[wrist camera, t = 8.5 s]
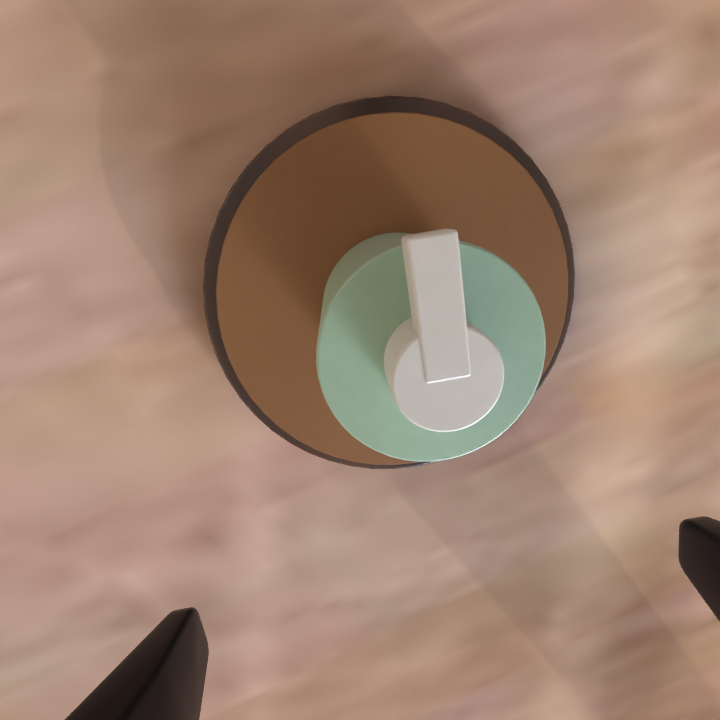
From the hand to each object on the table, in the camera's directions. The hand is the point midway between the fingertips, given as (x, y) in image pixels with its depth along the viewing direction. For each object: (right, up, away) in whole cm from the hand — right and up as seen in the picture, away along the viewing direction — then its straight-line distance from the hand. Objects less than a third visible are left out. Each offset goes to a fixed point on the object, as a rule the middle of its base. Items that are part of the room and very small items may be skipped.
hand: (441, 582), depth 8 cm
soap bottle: (0, +6, +10) cm, 12 cm away
